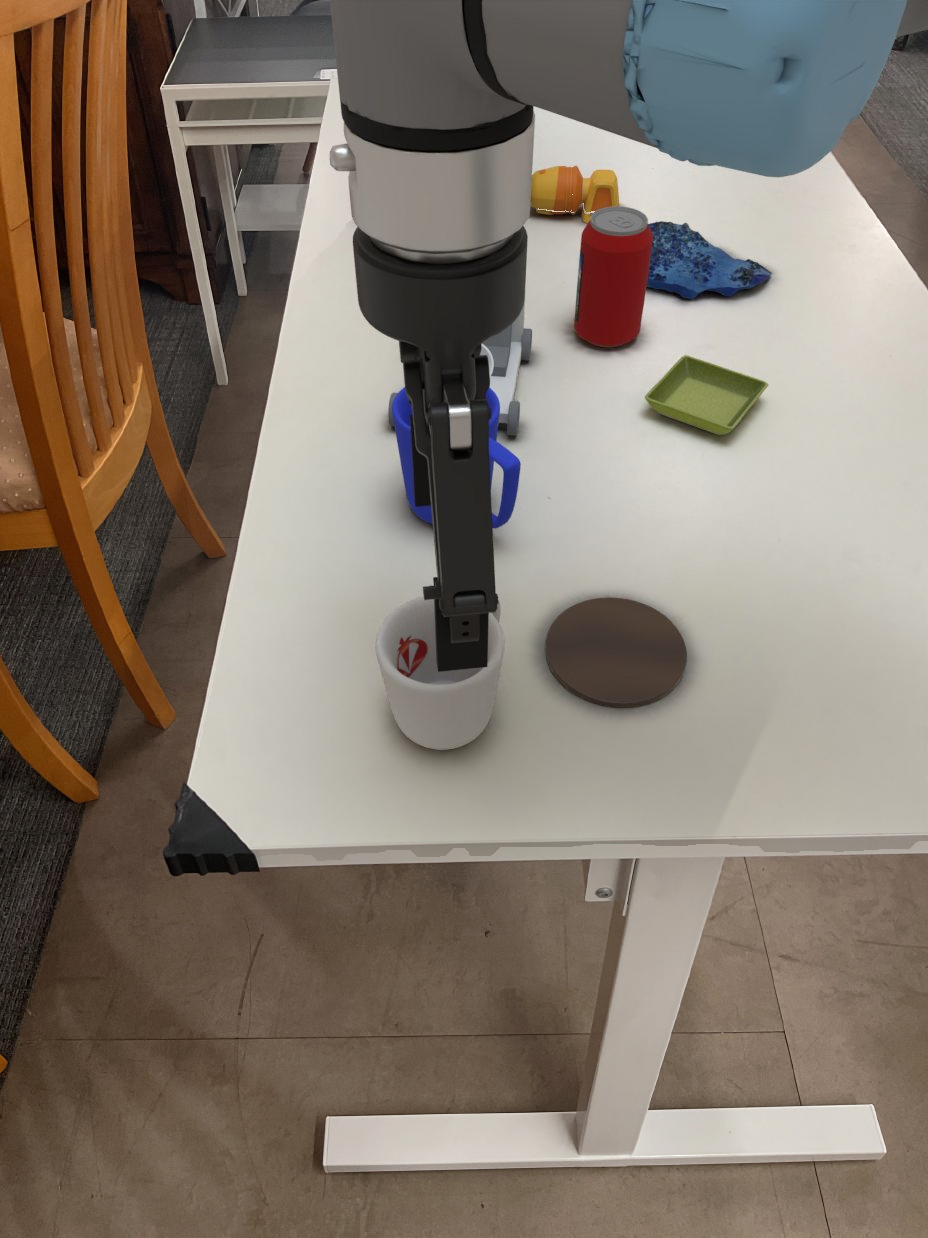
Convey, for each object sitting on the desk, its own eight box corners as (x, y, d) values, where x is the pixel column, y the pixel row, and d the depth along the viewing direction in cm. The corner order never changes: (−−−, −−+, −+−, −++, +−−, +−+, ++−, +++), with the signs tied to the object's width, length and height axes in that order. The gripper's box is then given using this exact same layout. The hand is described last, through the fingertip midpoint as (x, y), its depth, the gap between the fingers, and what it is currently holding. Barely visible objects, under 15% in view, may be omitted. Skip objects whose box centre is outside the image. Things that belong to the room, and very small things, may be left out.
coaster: (703, 699, 64) (704, 695, 64) (560, 715, 63) (560, 710, 63) (664, 595, 71) (665, 590, 71) (534, 608, 70) (534, 603, 70)
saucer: (765, 401, 88) (770, 382, 86) (727, 448, 83) (732, 429, 82) (680, 372, 91) (684, 353, 90) (639, 416, 86) (642, 397, 85)
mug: (471, 579, 72) (471, 477, 65) (380, 501, 79) (370, 400, 71) (549, 532, 76) (557, 431, 68) (455, 461, 82) (453, 361, 75)
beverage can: (605, 310, 99) (618, 196, 90) (653, 336, 96) (670, 220, 87) (559, 332, 96) (567, 216, 88) (606, 359, 93) (620, 242, 84)
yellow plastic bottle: (520, 222, 114) (620, 224, 113) (521, 176, 110) (625, 177, 109) (523, 203, 117) (619, 204, 116) (524, 157, 113) (624, 158, 112)
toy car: (516, 362, 75) (374, 352, 76) (513, 460, 82) (383, 450, 83) (536, 256, 87) (413, 249, 88) (531, 349, 94) (418, 342, 95)
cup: (446, 630, 69) (443, 550, 63) (542, 672, 66) (548, 593, 60) (361, 733, 63) (349, 656, 57) (463, 785, 60) (462, 709, 54)
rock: (665, 224, 112) (667, 208, 111) (786, 276, 104) (791, 259, 102) (583, 268, 106) (584, 252, 104) (705, 327, 97) (709, 310, 96)
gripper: (340, 116, 48) (372, 451, 63) (367, 399, 31) (401, 758, 47) (486, 109, 48) (481, 442, 64) (589, 383, 32) (548, 742, 47)
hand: (447, 576), depth 55 cm, fingers open, 13 cm apart
